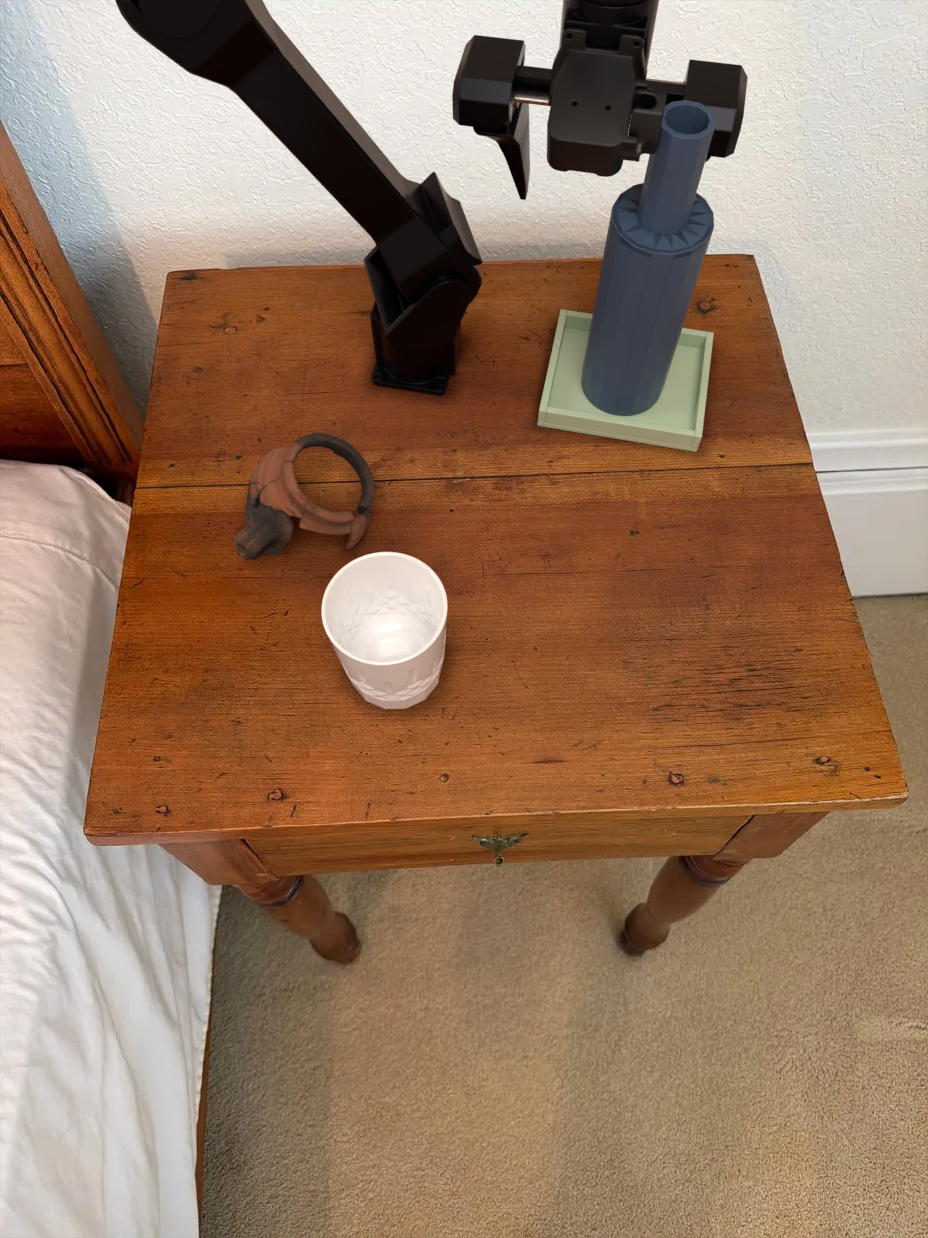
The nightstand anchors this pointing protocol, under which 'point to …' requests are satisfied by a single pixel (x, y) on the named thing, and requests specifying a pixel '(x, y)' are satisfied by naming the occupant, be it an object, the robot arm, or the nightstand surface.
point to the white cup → (388, 627)
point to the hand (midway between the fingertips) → (584, 203)
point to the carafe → (650, 268)
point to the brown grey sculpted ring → (298, 500)
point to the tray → (661, 425)
